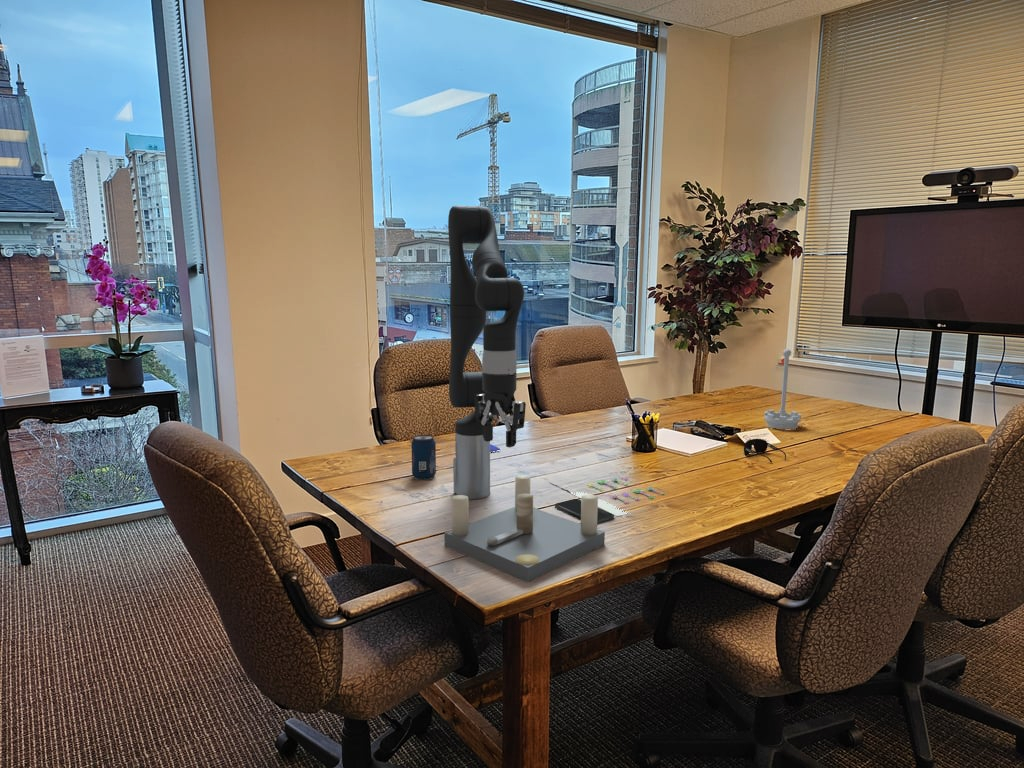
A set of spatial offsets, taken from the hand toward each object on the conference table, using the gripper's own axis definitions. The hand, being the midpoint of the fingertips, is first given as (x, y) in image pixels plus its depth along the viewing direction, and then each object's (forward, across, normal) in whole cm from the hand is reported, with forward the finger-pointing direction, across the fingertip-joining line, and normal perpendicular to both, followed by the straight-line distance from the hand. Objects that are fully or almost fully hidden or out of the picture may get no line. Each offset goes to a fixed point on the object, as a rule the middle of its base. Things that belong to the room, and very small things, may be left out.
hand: (499, 443), depth 151 cm
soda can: (+22, -46, +15) cm, 53 cm away
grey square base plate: (+22, +8, 0) cm, 23 cm away
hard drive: (+22, -55, +45) cm, 74 cm away
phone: (+22, +5, +25) cm, 34 cm away
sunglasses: (+22, +17, +105) cm, 108 cm away
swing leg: (+18, +8, -5) cm, 20 cm away
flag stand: (+22, +3, +150) cm, 152 cm away
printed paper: (+22, +2, +47) cm, 52 cm away
